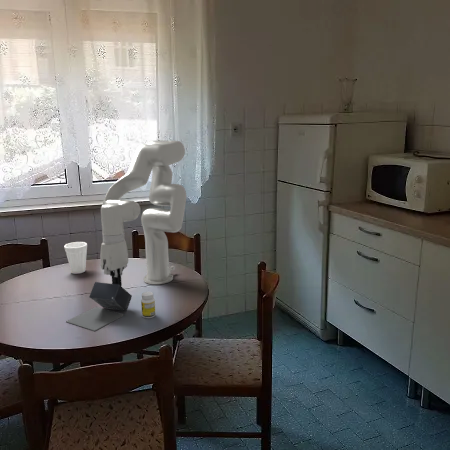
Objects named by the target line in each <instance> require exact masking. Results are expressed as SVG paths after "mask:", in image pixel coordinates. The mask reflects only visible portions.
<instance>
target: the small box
mask: <svg viewBox="0 0 450 450" xmlns="http://www.w3.org/2000/svg"><path fill="white" fill-rule="evenodd" d="M132 296H133V295H132V294H131V293H129V292H128V291H127V290H126V289H124V288H123V287H122V286H120V285H118V284H112V283H108V282H99V281H95V282H94V283H93V286H92V289H91V291H90V294H89V299H91V300H93V301H94V302H96V303H97V304H98V305H99V306H101V308H103V309H108V310H109V309H111V310H118V311H123V312H127V311H128V309H129V306H130V303H131V300H132Z"/></svg>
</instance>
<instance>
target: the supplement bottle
mask: <svg viewBox="0 0 450 450" xmlns="http://www.w3.org/2000/svg"><path fill="white" fill-rule="evenodd" d="M155 301H156V300H155V298H154V292H152V291H144V292H142V294H141V300H140V303H141V315H142V317H143V318H144V319H152V318H154V317H156V302H155Z"/></svg>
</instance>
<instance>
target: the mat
mask: <svg viewBox="0 0 450 450" xmlns="http://www.w3.org/2000/svg"><path fill="white" fill-rule="evenodd" d="M124 316H125V314H124V313H120V312H116V311H114V310H109V309H108V308H103V307H99V306H95V307H93V308H90V309H88V310H86V311H85V312H82V313H81V314H78V315H75V316H74V317H72V318H70V319H68V320H65V321H66V323H67V324H71V325H74V326H77V327H80V328H84V329H86V330H89V331H93V332H96V331H99V330H100V329H101V328H104V327H105V326H107V325H109V324H111V323H113V322H114V321H117V320H118V319H121V318H122V317H124Z"/></svg>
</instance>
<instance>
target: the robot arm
mask: <svg viewBox="0 0 450 450" xmlns="http://www.w3.org/2000/svg"><path fill="white" fill-rule="evenodd" d="M185 150H186V148H185V145H184V143H182V141H179V140H160V139H159V140H158V139H157V140H150V141H149V142H147V143H144V144H143V143H142V144H140V145H138V146H137V148H136V150H135V152H134V154H133V157H132V159H131V162H130V164H129V166H128V169H127V172H126V174H124V175H123V176H121V177H120V178H119V179H118V180H117V181H116V182H114V183H113V184H112V185H111V186H110V187H109V188H108V190H107V192H106V194H105V197H104V199H103V201H102V205H101V207H100V219H101V221H100V222H101V232H102V243H101V244H100V245H101V246H100V256H99V258H100V263H99V264H100V269H101V270H103V274H104V275H107V276H109V277H111V284H118V285H120V286H121V287H122V286H123V285H122V284H123V283H122V282H123V281H122V276H123V271H124V270H125V269H126V268H127V267H128V264H129V252H128V251H129V250H128V246H127V241H126V240H125V234H126V233H125V228H124V222H131V221H134V220H135V221H136V219H138V217H139V216H140V215H141V216H140V221H141V226H142V229H143V234H144V242H145V246H144V247H145V260H146V263H145V264H146V275H145V276H144V277H143V282H144V283H146V284H149V285H164V284H167V283H170V282H171V281H172V280H173V279H174V275H173V274H171V273H172V271H174V270H176V266H175V265H171V266H170V265H169V264H170V263H169V241H168V237H167V235H166V233H179V231H180V230H181V229H182V227H183V222H184V217H185V210H186V204H187V202H186V201H187V192H186V189H185V187H184V186H183V185H181V184H179V183H178V184H177V183H172V180H173V171H172V168H171V166H170V165H174V164H177V163H179V162H181V161H182V160H183V158H184V157H185V153H186V151H185ZM151 173H152V174H151ZM150 175H152V176H151V180H150V187H149V195H148V200H149V202H150V203H151V204H152V205H154V206H159V207H160V206H161V208H159V207H158V208H157V207H150V208H146V209H145V210H143V212H142V213H141V206H140V204H139V203H138V202H136V201H134V200H131V199H130V200H129V199H127V200H126V199H121V198H122V197H124V195H126V194H127V193H129V192H131V191H132V192H133V191H134V190H137V189H139V188H143V187H144V186H145V185H147V183H148V181H149V178H150ZM163 207H170V209H169V208H163ZM165 232H166V233H165ZM173 281H174V280H173Z"/></svg>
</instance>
